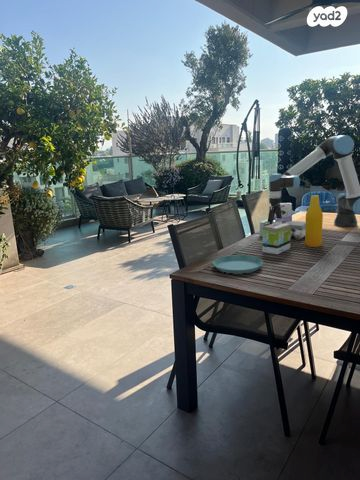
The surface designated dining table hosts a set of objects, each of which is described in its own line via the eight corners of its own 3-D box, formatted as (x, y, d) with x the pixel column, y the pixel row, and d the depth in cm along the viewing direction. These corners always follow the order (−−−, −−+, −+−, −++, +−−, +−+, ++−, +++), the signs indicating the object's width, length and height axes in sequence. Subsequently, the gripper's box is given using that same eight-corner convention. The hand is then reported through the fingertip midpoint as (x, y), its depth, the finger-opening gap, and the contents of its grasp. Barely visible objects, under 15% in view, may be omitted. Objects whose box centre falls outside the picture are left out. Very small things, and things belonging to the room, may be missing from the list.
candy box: (290, 223, 267) (290, 202, 263) (292, 225, 261) (292, 203, 257) (272, 224, 268) (272, 203, 264) (273, 225, 263) (273, 204, 259)
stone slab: (308, 225, 227) (308, 221, 227) (301, 229, 216) (302, 225, 216) (290, 224, 234) (290, 220, 234) (283, 228, 223) (283, 224, 223)
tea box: (278, 254, 189) (278, 228, 185) (262, 252, 195) (262, 226, 192) (290, 248, 199) (291, 223, 196) (274, 246, 206) (275, 221, 202)
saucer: (211, 262, 184) (211, 256, 183) (257, 259, 183) (257, 253, 182) (215, 277, 161) (214, 270, 160) (267, 274, 160) (267, 268, 159)
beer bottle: (324, 244, 204) (326, 195, 197) (317, 247, 197) (319, 197, 190) (308, 242, 210) (310, 194, 203) (302, 245, 203) (303, 196, 197)
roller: (281, 226, 237) (281, 219, 236) (275, 230, 228) (275, 222, 226) (274, 226, 240) (274, 218, 239) (267, 229, 231) (267, 221, 229)
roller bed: (310, 234, 229) (310, 225, 228) (302, 240, 216) (303, 230, 215) (290, 233, 236) (290, 224, 235) (282, 238, 224) (282, 229, 223)
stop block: (272, 231, 244) (273, 218, 241) (264, 236, 231) (264, 222, 229) (268, 231, 245) (268, 218, 243) (259, 236, 233) (259, 222, 231)
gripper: (276, 195, 241) (275, 225, 246) (262, 199, 222) (262, 232, 227) (286, 195, 236) (286, 226, 241) (273, 200, 217) (273, 233, 222)
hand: (274, 229), depth 234 cm, fingers closed on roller, 12 cm apart
